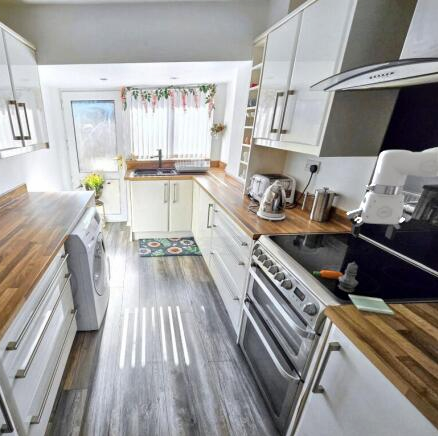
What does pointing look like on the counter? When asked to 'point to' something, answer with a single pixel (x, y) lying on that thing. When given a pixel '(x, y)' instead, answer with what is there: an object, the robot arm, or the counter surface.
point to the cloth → (371, 304)
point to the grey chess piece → (348, 278)
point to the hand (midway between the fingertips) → (371, 236)
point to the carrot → (329, 274)
